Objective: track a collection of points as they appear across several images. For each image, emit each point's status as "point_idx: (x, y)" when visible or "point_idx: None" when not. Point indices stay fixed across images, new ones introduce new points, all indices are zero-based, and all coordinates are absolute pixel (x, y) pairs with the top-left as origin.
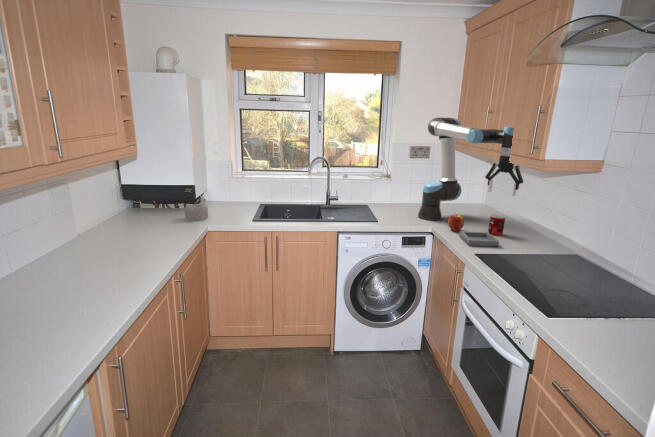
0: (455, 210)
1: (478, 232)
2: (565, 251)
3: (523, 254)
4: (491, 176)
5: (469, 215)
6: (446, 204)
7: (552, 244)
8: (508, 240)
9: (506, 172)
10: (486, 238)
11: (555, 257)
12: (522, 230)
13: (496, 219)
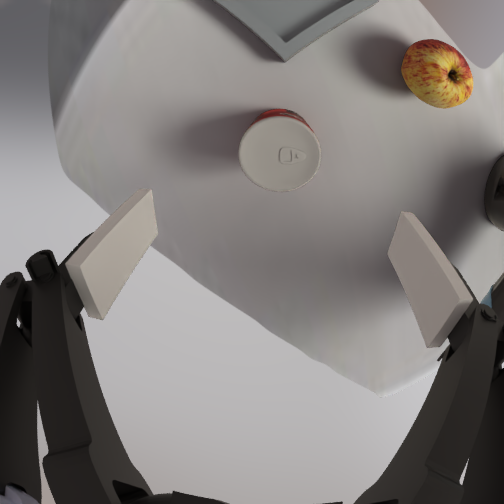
0: None
1: (315, 28)
2: (63, 146)
3: (118, 6)
4: (485, 354)
5: None
6: None
7: (102, 179)
8: (205, 92)
9: (187, 500)
10: (272, 27)
11: (59, 72)
12: (223, 258)
13: (272, 116)
